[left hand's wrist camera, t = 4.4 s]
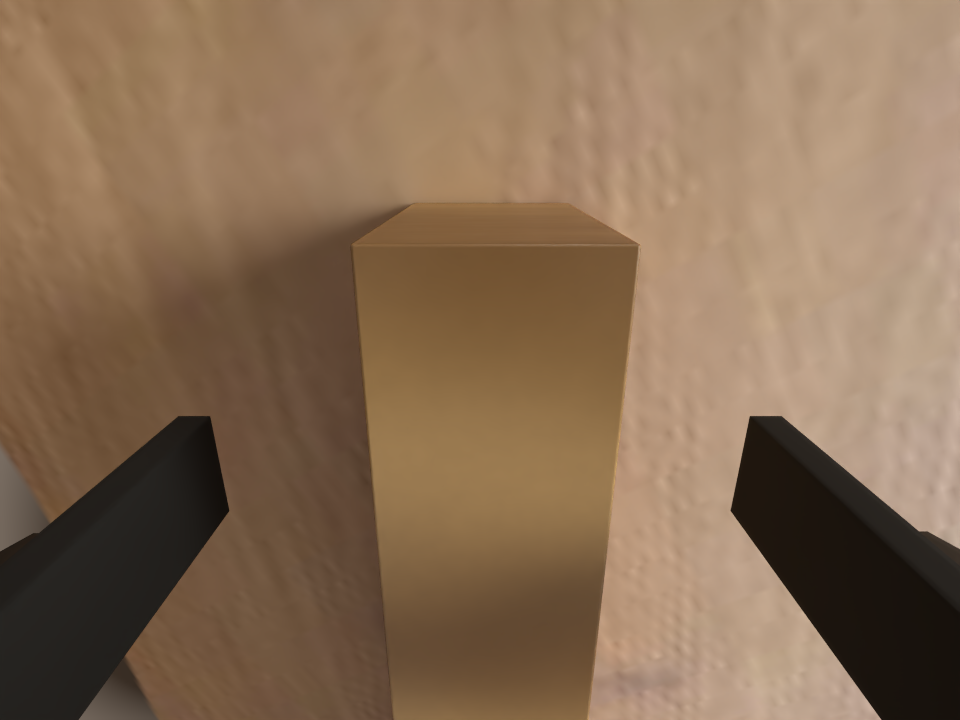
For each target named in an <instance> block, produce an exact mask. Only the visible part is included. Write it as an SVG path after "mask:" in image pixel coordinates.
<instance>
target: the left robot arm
mask: <svg viewBox="0 0 960 720" xmlns="http://www.w3.org/2000/svg"><path fill="white" fill-rule="evenodd" d="M228 512H229V507H228V502H227V497H226V492H225V487H224V482H223V478H222V473H221V468H220V463H219V458H218V453H217V448H216V443H215V438H214V433H213V428H212V423H211V418H210V416H178V417H177V418H176V419H175V420H173V421H172V422H171V423H170V424H169V425H168V426H166V427H165V428H164V429H163V430H162V431H160V432H159V433H158V434H157V435H156V436H154V437H153V438H152V439H151V440H150V441H148V442H147V443H146V444H145V445H144V446H142V447H141V448H140V449H139V450H138V451H137V452H135V453H134V454H133V455H132V456H131V457H129V458H128V459H127V460H126V461H125V462H123V463H122V464H121V465H120V466H119V467H117V468H116V469H115V470H114V471H113V472H111V473H110V474H109V475H108V476H107V477H105V478H104V479H103V480H102V481H101V482H100V483H98V484H97V485H96V486H95V487H94V488H92V489H91V490H90V491H89V492H88V493H86V494H85V495H84V496H83V497H82V498H80V499H79V500H78V501H77V502H76V503H74V504H73V505H72V506H71V507H70V508H69V509H67V510H66V511H65V512H64V513H63V514H61V515H60V516H59V517H58V518H57V519H55V520H54V521H53V522H52V523H51V524H49V525H48V526H47V527H46V528H45V529H43V530H42V531H41V532H40V533H33V534H31V535H29V536H28V537H26V538H24V539H22V540H20V541H18V542H17V543H15V544H13V545H11V546H9V547H8V548H6V549H4V550H2V551H0V720H79V718H80V717H81V716H82V714H83V713H84V711H85V710H86V709H87V707H88V706H89V704H90V703H91V702H92V700H93V699H94V698H95V696H96V695H97V693H98V692H99V691H100V689H101V688H102V686H103V685H104V684H105V682H106V681H107V680H108V678H109V677H110V675H111V674H112V673H113V671H114V670H115V668H116V667H117V666H118V664H119V663H120V661H121V660H122V659H123V657H124V656H125V655H126V653H127V652H128V650H129V649H130V648H131V646H132V645H133V643H134V642H135V641H136V639H137V638H138V637H139V635H140V634H141V632H142V631H143V630H144V628H145V627H146V625H147V624H148V623H149V621H150V620H151V619H152V617H153V616H154V614H155V613H156V612H157V610H158V609H159V607H160V606H161V605H162V603H163V602H164V601H165V599H166V598H167V596H168V595H169V594H170V592H171V591H172V589H173V588H174V587H175V585H176V584H177V583H178V581H179V580H180V578H181V577H182V576H183V574H184V573H185V571H186V570H187V569H188V567H189V566H190V565H191V563H192V562H193V560H194V559H195V558H196V556H197V555H198V553H199V552H200V551H201V549H202V548H203V547H204V545H205V544H206V542H207V541H208V540H209V538H210V537H211V535H212V534H213V533H214V531H215V530H216V529H217V527H218V526H219V524H220V523H221V522H222V520H223V519H224V517H225V516H226V515H227V513H228ZM731 512H732V513H733V515H734V516H735V517H736V519H737V520H738V522H739V523H740V524H741V526H742V527H743V529H744V530H745V531H746V533H747V534H748V535H749V537H750V538H751V540H752V541H753V542H754V544H755V545H756V547H757V548H758V549H759V551H760V552H761V553H762V555H763V556H764V558H765V559H766V560H767V562H768V563H769V565H770V566H771V567H772V569H773V570H774V571H775V573H776V574H777V576H778V577H779V578H780V580H781V581H782V583H783V584H784V585H785V587H786V588H787V589H788V591H789V592H790V594H791V595H792V596H793V598H794V599H795V601H796V602H797V603H798V605H799V606H800V607H801V609H802V610H803V612H804V613H805V614H806V616H807V617H808V619H809V620H810V621H811V623H812V624H813V625H814V627H815V628H816V630H817V631H818V632H819V634H820V635H821V637H822V638H823V639H824V641H825V642H826V643H827V645H828V646H829V648H830V649H831V650H832V652H833V653H834V655H835V656H836V657H837V659H838V660H839V662H840V663H841V664H842V666H843V667H844V668H845V670H846V671H847V673H848V674H849V675H850V677H851V678H852V680H853V681H854V682H855V684H856V685H857V686H858V688H859V689H860V691H861V692H862V693H863V695H864V696H865V698H866V699H867V700H868V702H869V703H870V704H871V706H872V707H873V709H874V710H875V711H876V713H877V714H878V716H879V717H880V718H881V720H960V549H958V548H956V547H955V546H953V545H951V544H949V543H947V542H946V541H944V540H942V539H940V538H938V537H936V536H935V535H933V534H931V533H929V532H919V531H918V530H917V529H915V528H914V527H913V526H912V525H911V524H909V523H908V522H907V521H906V520H905V519H903V518H902V517H901V516H900V515H899V514H897V513H896V512H895V511H894V510H893V509H891V508H890V507H889V506H888V505H887V504H886V503H884V502H883V501H882V500H881V499H880V498H878V497H877V496H876V495H875V494H874V493H872V492H871V491H870V490H869V489H868V488H866V487H865V486H864V485H863V484H862V483H860V482H859V481H858V480H857V479H856V478H854V477H853V476H852V475H851V474H850V473H849V472H847V471H846V470H845V469H844V468H843V467H841V466H840V465H839V464H838V463H837V462H835V461H834V460H833V459H832V458H831V457H829V456H828V455H827V454H826V453H825V452H823V451H822V450H821V449H820V448H819V447H818V446H816V445H815V444H814V443H813V442H812V441H810V440H809V439H808V438H807V437H806V436H804V435H803V434H802V433H801V432H800V431H798V430H797V429H796V428H795V427H794V426H792V425H791V424H790V423H789V422H788V421H787V420H785V419H784V418H783V417H782V416H750V418H749V423H748V428H747V433H746V438H745V443H744V448H743V453H742V458H741V463H740V468H739V473H738V478H737V482H736V487H735V492H734V497H733V502H732V507H731Z"/></svg>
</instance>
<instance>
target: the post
mask: <svg viewBox="0 0 960 720" xmlns="http://www.w3.org/2000/svg"><path fill="white" fill-rule="evenodd" d="M350 248H351V259H352V271H353V282H354V293H355V304H356V315H357V326H358V338H359V349H360V360H361V371H362V382H363V393H364V404H365V416H366V427H367V438H368V449H369V460H370V471H371V483H372V494H373V505H374V516H375V527H376V538H377V550H378V561H379V572H380V583H381V594H382V605H383V616H384V628H385V639H386V650H387V661H388V672H389V683H390V695H391V706H392V717H393V720H588V719H589V710H590V701H591V692H592V683H593V674H594V665H595V656H596V647H597V638H598V629H599V620H600V611H601V602H602V592H603V583H604V574H605V565H606V556H607V547H608V538H609V529H610V520H611V511H612V502H613V493H614V484H615V475H616V466H617V457H618V448H619V439H620V430H621V421H622V412H623V403H624V394H625V385H626V376H627V367H628V358H629V349H630V340H631V331H632V322H633V313H634V304H635V295H636V286H637V277H638V268H639V259H640V250H641V247H640V244H638V243H636V242H635V241H633V240H631V239H629V238H628V237H626V236H624V235H622V234H621V233H619V232H617V231H616V230H614V229H612V228H610V227H609V226H607V225H605V224H603V223H602V222H600V221H598V220H596V219H595V218H593V217H591V216H590V215H588V214H586V213H584V212H583V211H581V210H579V209H577V208H576V207H574V206H572V205H571V204H569V203H414V204H412V205H411V206H409V207H408V208H406V209H405V210H403V211H402V212H400V213H398V214H397V215H395V216H394V217H392V218H391V219H389V220H388V221H386V222H385V223H383V224H381V225H380V226H378V227H377V228H375V229H374V230H372V231H371V232H369V233H368V234H366V235H365V236H363V237H361V238H360V239H358V240H357V241H355V242H354V243H352V244H351V247H350Z"/></svg>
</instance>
